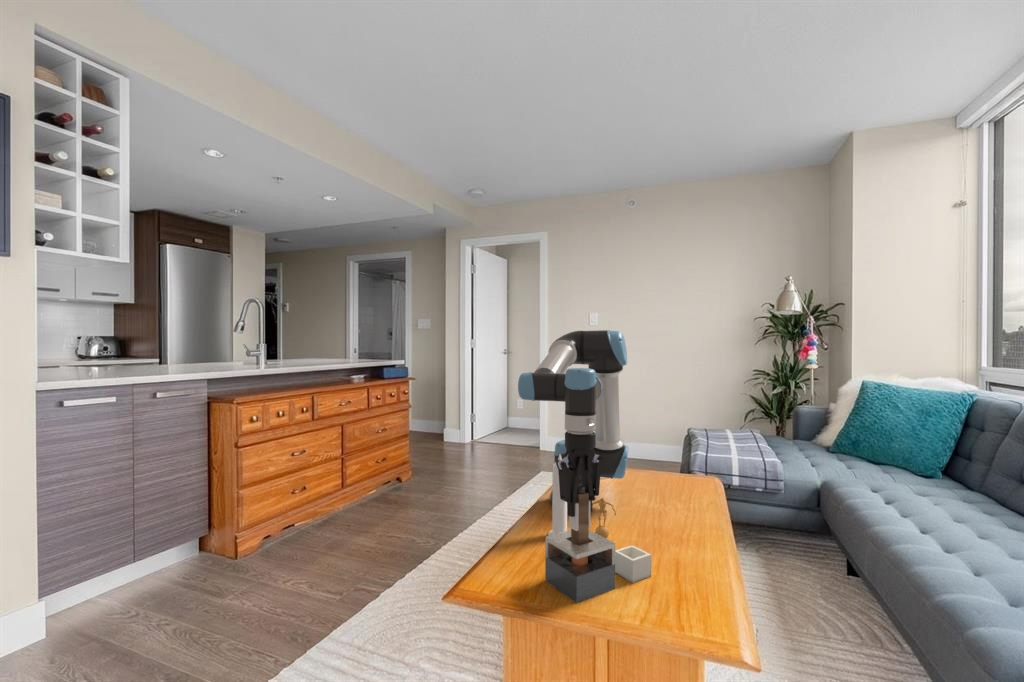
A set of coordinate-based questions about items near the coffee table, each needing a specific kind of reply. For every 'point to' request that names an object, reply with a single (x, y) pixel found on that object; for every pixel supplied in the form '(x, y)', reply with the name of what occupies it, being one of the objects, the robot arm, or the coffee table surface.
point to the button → (580, 561)
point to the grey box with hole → (584, 578)
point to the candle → (557, 505)
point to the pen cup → (632, 563)
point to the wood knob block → (582, 518)
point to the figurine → (602, 529)
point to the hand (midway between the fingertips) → (579, 527)
